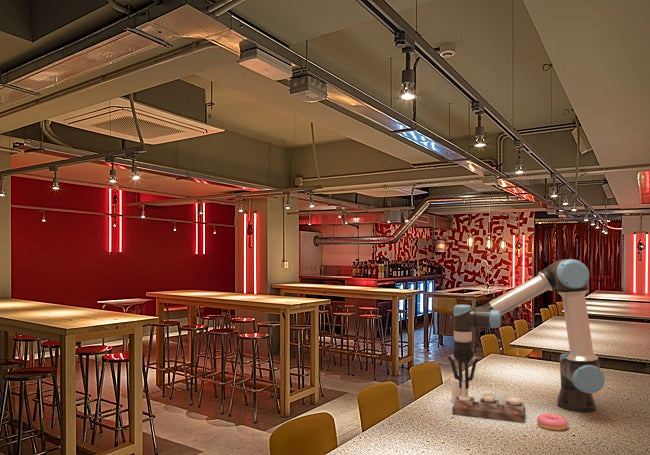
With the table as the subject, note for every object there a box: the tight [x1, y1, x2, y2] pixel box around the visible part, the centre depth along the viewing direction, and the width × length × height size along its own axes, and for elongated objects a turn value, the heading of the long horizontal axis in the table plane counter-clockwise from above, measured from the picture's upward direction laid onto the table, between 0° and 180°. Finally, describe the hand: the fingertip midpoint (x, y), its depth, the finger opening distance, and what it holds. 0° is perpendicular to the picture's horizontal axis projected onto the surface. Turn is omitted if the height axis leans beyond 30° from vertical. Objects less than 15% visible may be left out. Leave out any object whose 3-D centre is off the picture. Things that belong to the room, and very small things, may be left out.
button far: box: [459, 395, 472, 401], centre depth 208 cm, size 5×5×2 cm
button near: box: [507, 396, 522, 405], centre depth 200 cm, size 5×5×2 cm
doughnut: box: [536, 413, 569, 432], centre depth 188 cm, size 11×11×4 cm
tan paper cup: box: [450, 377, 469, 403], centre depth 222 cm, size 8×8×10 cm
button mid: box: [482, 393, 496, 402], centre depth 205 cm, size 5×5×2 cm
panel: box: [451, 396, 527, 424], centre depth 203 cm, size 28×12×5 cm, turn 66°
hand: (464, 396), depth 209 cm, fingers closed
